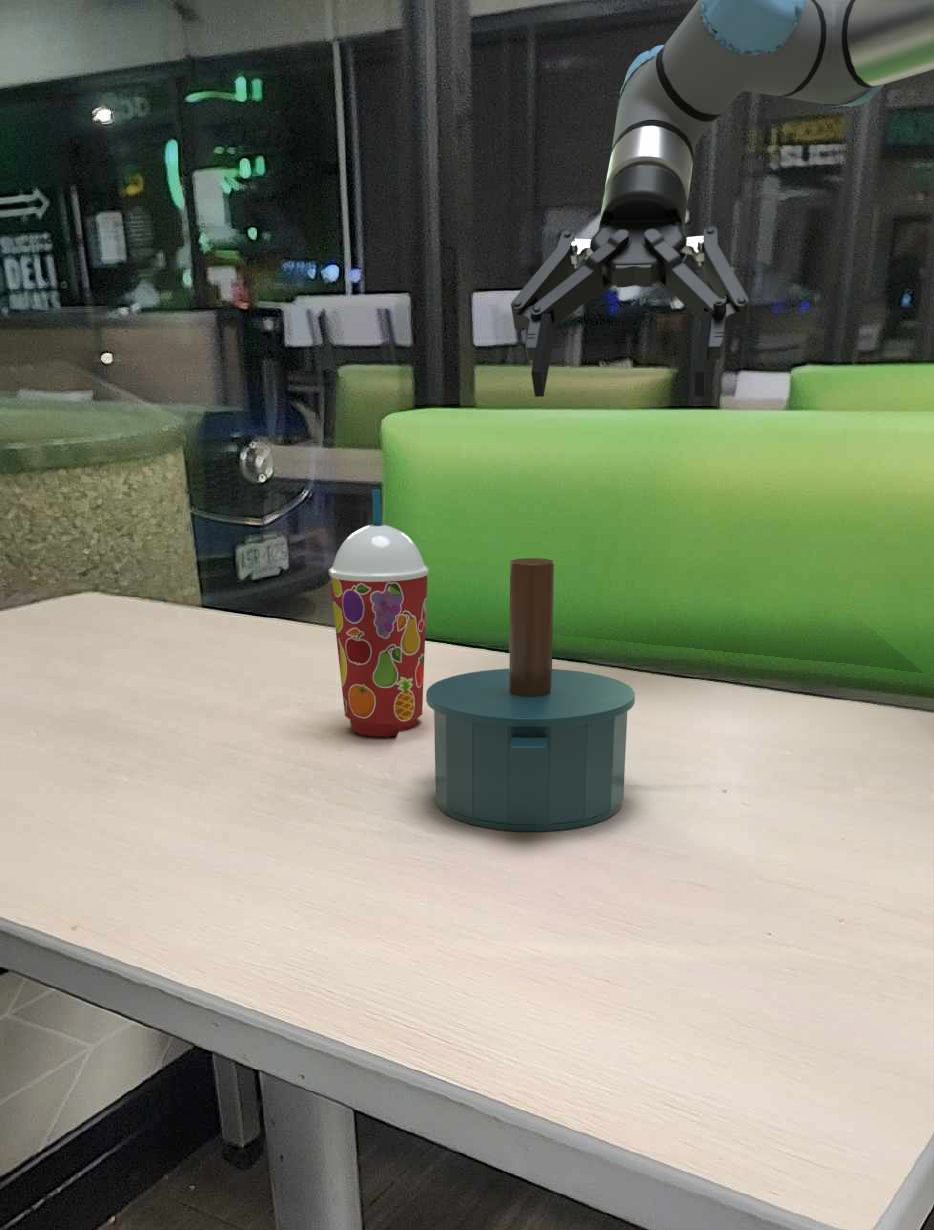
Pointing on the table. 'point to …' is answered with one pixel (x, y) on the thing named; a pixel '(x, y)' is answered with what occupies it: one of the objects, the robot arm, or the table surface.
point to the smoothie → (380, 627)
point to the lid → (530, 670)
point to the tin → (529, 773)
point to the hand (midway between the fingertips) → (617, 384)
